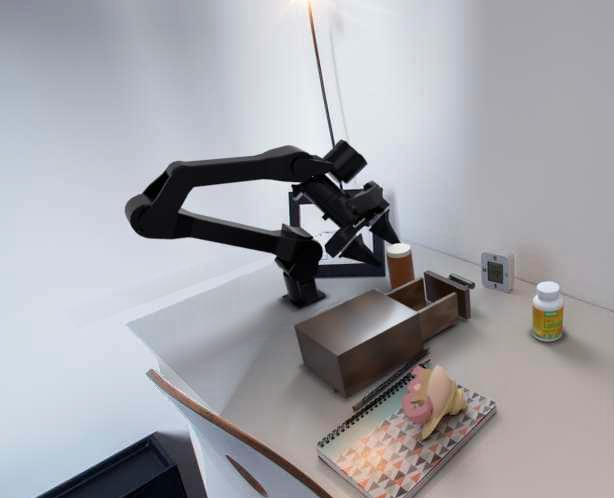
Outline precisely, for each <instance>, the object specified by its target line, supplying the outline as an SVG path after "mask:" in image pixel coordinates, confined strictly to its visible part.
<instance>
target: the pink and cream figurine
mask: <svg viewBox="0 0 614 498" xmlns="http://www.w3.org/2000/svg"><path fill="white" fill-rule="evenodd" d="M410 376H413V377H414V378H413V379H411V380H409V381H408V384H407V387H406V392H407V393H406V394H403V395H402V397H401V403H402V409H403V410H402V411H403V412H404V415H405V418H406V419H407V420H408V421H409V422H413V423H414V424H415V425H422V424H424V425H423V427H422V431H421V440H425V439H427V438H428V437H429V436H430V435H431V434H432V433H433V431H434V430H435V428H436V426H438V424H439V423H440V421H441V420H442V418H443V417H444V416H445V415H447V414H449V415H450V416H453V415H454V416H456V415H457V414H458V413H459V412H460V410H465V409H466V408H467V407H468V405H469V403H468V401H467V400H466V399H465V395H466V394H465V391H464V390H463V389H462V388H458V386H457V382H456V380H454V381H453V379H452V378H450V377H449V375H448V373H447V372H446V371H445V369H444V368H443V367H442V366H440V365H438V364H436V366H435V367H434V368H423V367H421V366H420V364H417V365H416V367H415V368H413V370H412V371H411V372H410ZM412 404H416V405H418V406H416V407H414V408H412V407H413V405H412Z"/></svg>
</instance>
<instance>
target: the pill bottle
mask: <svg viewBox="0 0 614 498" xmlns="http://www.w3.org/2000/svg"><path fill="white" fill-rule="evenodd" d="M385 252H386V263H387V268H388V269H387V271H388V276H389V282H390V283H389V284H390V291H392V290H394V289H396V288H398V287H400V286H402V285H404V284H406V283H409V282H411V281H413V280H415V279H416V277H415V276H416V275H415V270H414V269H415V268H414V262H413V259H414V258H413V254H412V253H413V252H412V247H411V245H410V244H408V243H403V242H401V243H398V244H393V245H392V244H389V246H387V247H386V249H385Z"/></svg>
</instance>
